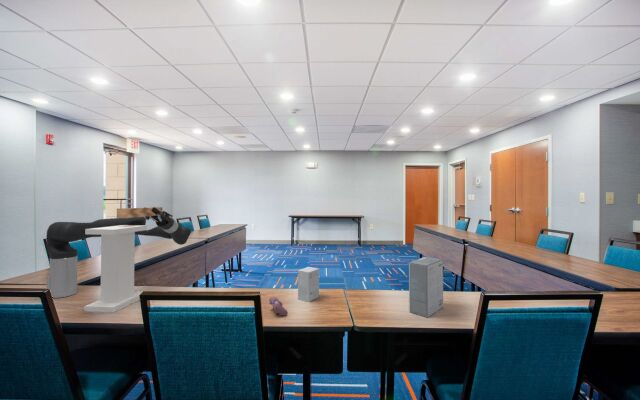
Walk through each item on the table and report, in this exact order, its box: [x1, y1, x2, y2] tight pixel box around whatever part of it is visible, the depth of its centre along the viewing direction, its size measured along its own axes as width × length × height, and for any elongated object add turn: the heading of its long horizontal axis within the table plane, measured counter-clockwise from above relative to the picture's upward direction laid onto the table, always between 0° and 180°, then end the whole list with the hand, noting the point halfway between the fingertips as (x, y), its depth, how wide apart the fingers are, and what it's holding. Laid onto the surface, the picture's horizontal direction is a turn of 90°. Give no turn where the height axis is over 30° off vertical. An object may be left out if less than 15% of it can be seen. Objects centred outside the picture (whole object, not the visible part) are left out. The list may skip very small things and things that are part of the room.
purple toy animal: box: [268, 296, 288, 317], centre depth 105 cm, size 10×5×7 cm, turn 21°
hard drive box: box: [408, 256, 444, 318], centre depth 109 cm, size 16×8×20 cm, turn 134°
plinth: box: [83, 225, 148, 313], centre depth 113 cm, size 18×12×32 cm, turn 176°
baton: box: [116, 206, 163, 218], centre depth 127 cm, size 24×4×4 cm, turn 176°
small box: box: [297, 266, 320, 303], centre depth 121 cm, size 8×6×13 cm
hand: (148, 208), depth 131 cm, fingers closed on baton, 4 cm apart
